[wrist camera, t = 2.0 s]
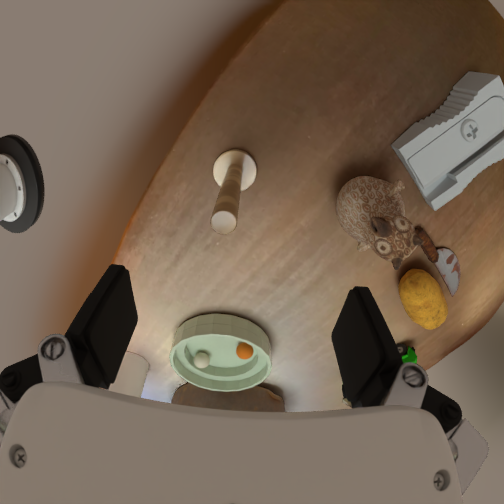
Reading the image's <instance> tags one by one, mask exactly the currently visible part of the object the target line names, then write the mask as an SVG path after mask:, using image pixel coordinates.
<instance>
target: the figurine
mask: <svg viewBox="0 0 504 504" xmlns="http://www.w3.org/2000/svg"><path fill="white" fill-rule="evenodd" d="M404 188H405V186H404V184H403V182H402V181H401V180H399V179H398V180H396V181H395V182H394V183H393V184H391V183H388V182H386V181H384V180H381V179H378V178H374V177H370V176H369V175H368V176H359V177H356V178H353V179H351V180H350V181H348V182H347V183H346V184H345V185H344V186H343V187H342V189H341V190H340V192H339V195H338V197H337V202H336V212H337V217H338V220H339V222H340V224H341V226H342V227H343V229H344V230H345V231H346V232H347V233H348V234H349V235H350V236H352V237H353V238H355V239H356V240H357V241H358V242H359V244H358V247H357V249H358V250H359V251H365V250H367V249H369V248H372V249H373V251H374V252H375V253H376V254H377V255H379V256H380V257H381V258H383V259H385V260H388V261H391V262H392V263H393V267H394V269H395V270H398V269H399V267H400V265H401V262H402V261H403V260H404V259H405V258H407V257H408V256H410V255H411V254H412V252H413V251H414V250H415V248H416V247H417V246H418V245H419V246H420V245H423V243H424V241H423V240H422V239H421V238H420V237H419V236H418V235H417V234H416V232H415V229H414V226H413V225H412V223H411V222H410V221H409V220H408V219H407V218H406V217H405V208H404V201H403V199H402V197H401V195H400V191H401V189H404Z"/></svg>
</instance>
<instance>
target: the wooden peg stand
mask: <svg viewBox="0 0 504 504" xmlns="http://www.w3.org/2000/svg"><path fill="white" fill-rule="evenodd" d="M256 174H257V169H256V163H255V161H254V159H253V158H252V157H251V156H250V155H249V154H248V153H247V152H245V151H242V150H238V149H232V150H228V151H226V152H224V153H222V154H221V155H220V156H219V157H218V158H217V160H216V162H215V164H214V167H213V175H214V178H215V181H216V182H217V184H218V185H219V186H220V187H221V189H220V192H219V195H218V198H217V201H216V204H215V207H214V211H213V214H212V217H211V221H210V223H211V227H212V228H213V230H214V231H215V232H217V233H219V234H229V233H231V232H233V231H234V230H235V228H236V226H237V219H238V210H239V200H240V191H243V190H245V189H247V188H249V187H250V186H251V185H252V184H253V182H254V180H255V178H256Z"/></svg>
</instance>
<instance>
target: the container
mask: <svg viewBox="0 0 504 504" xmlns="http://www.w3.org/2000/svg"><path fill="white" fill-rule="evenodd" d="M171 404H178V405H185V406H192V407H200V408H209V409H219V410H232V411H249V412H285V408H284V401H283V399H282V397H280V396H278V395H275V394H274V393H273V392H271V391H270V390H268V389H265V388H262V387H258V386H254V387H252V388H248V389H245V390H241V391H230V392H223V391H212V390H208V389H204V388H200V387H197V386H195V385H193V384H191V383H188V384H186V385H184V386H182V387H180V388H179V389H177V390H176V392H175V394H174V396H173V398H172V401H171Z"/></svg>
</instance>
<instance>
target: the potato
mask: <svg viewBox="0 0 504 504" xmlns="http://www.w3.org/2000/svg"><path fill="white" fill-rule="evenodd" d="M398 287H399V295H400V298H401V301H402V303H403V306H404V308H405V311H406V312H407V314H408V315H409V317H410V318H411V319H412V321H414V322H416V323H417V324H419V325H420V326H422V327H423V328H425V329H434V328H437V327H438V326H440V325H441V324H442V323H443V322H444V321H445V319H446V316H447V314H448V308H447V303H446V300H445V298H444V295H443V292H442V290H441V288H440V286H439V284H438V282H437V281H436V280H435V279H434V278H433V277H432V276H431V275H430V274H429V273H428V272H426V271H424V270H422V269H411V270H409V271H407V272H406V274H405V275H404V276H403V277H402V278H401V280H400V283H399V286H398Z"/></svg>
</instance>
